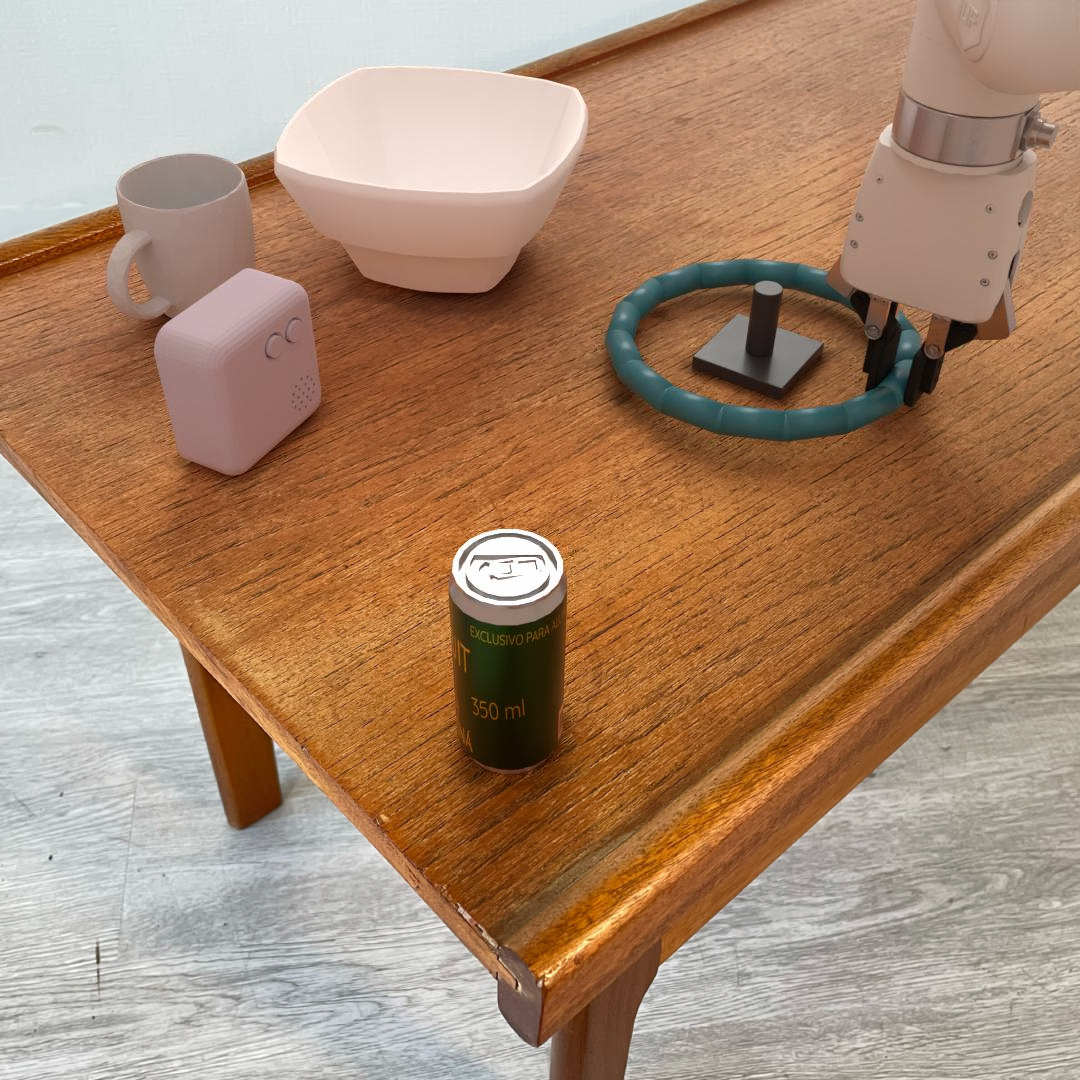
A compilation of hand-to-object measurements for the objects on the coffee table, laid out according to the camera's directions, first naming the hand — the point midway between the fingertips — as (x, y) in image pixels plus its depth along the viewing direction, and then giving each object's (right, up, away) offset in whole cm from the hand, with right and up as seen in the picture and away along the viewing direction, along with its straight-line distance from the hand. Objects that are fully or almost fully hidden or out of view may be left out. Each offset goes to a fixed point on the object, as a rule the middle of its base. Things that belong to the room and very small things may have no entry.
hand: (896, 388), depth 81 cm
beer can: (-26, -20, -20) cm, 38 cm away
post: (-8, +3, +6) cm, 10 cm away
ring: (-8, +4, +4) cm, 10 cm away
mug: (-50, +7, +10) cm, 52 cm away
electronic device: (-43, -4, -1) cm, 43 cm away
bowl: (-32, +12, +16) cm, 37 cm away
